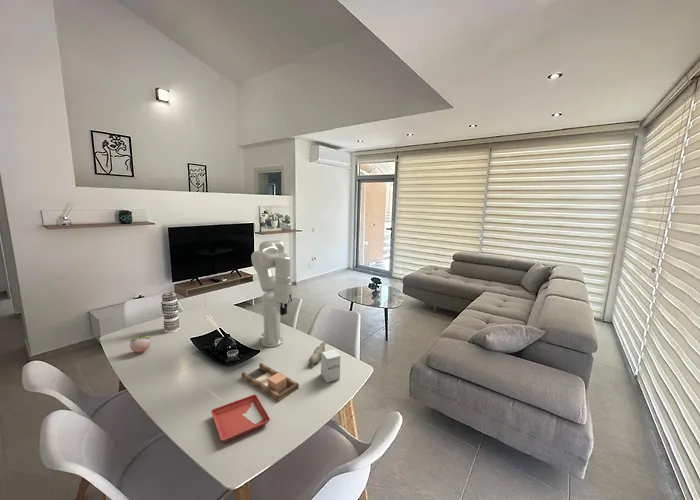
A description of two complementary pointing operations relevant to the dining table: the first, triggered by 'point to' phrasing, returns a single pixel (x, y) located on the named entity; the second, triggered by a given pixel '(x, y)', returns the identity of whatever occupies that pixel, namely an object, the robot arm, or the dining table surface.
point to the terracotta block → (277, 382)
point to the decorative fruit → (140, 344)
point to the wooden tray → (261, 381)
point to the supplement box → (330, 365)
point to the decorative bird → (316, 354)
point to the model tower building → (170, 311)
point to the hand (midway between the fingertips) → (283, 314)
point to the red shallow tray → (237, 418)
